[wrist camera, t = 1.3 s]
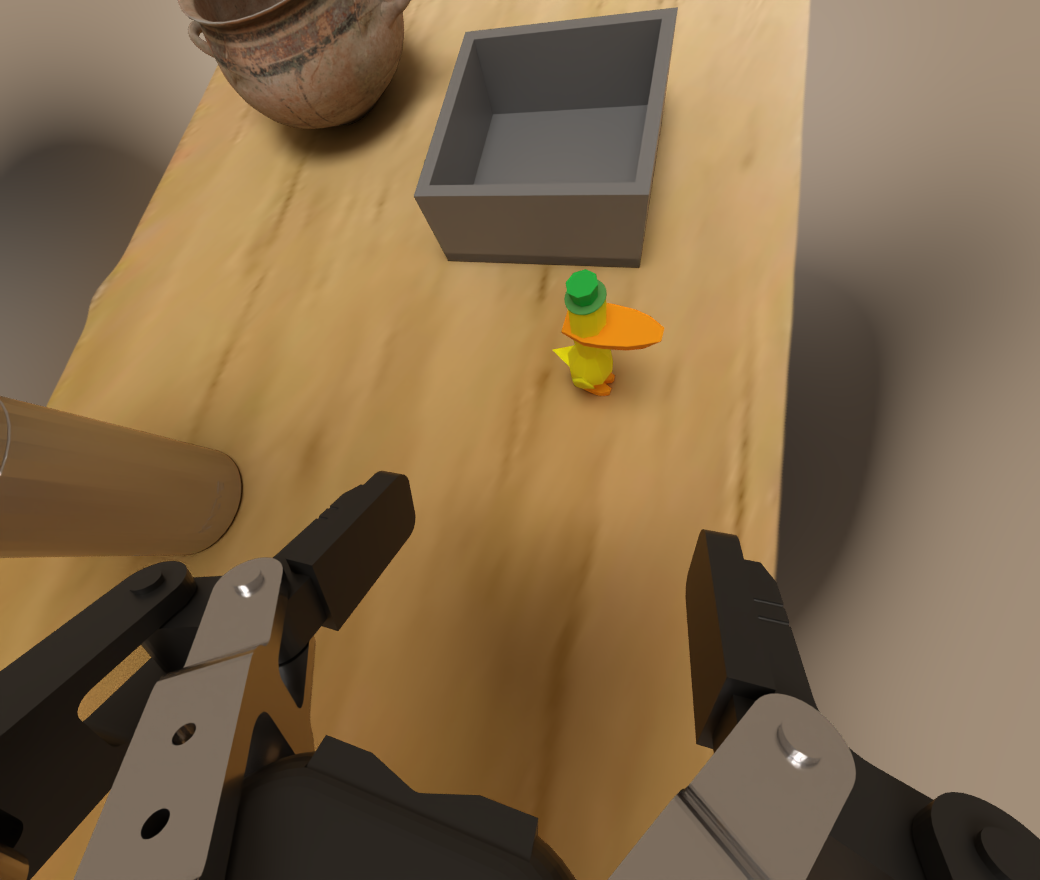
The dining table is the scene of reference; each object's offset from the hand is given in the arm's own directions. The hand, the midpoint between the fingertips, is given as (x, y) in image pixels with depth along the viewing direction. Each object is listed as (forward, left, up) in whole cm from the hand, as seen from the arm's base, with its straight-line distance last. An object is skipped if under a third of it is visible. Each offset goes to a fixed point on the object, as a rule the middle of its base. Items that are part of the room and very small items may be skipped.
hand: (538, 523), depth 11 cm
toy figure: (0, +12, -18) cm, 21 cm away
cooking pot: (-33, +43, -18) cm, 57 cm away
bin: (-7, +31, -18) cm, 36 cm away
